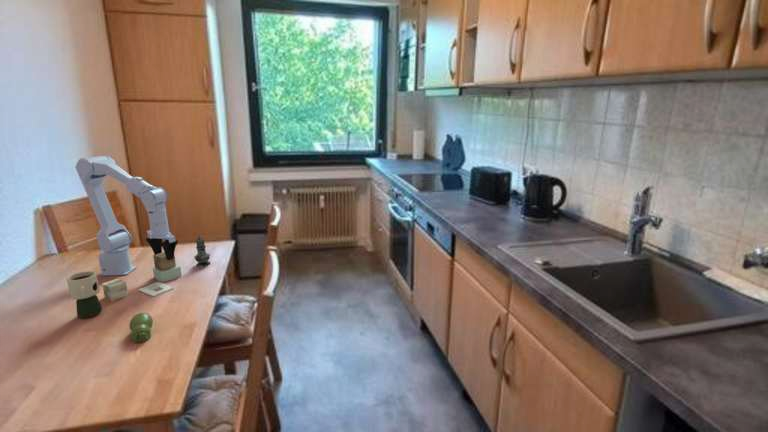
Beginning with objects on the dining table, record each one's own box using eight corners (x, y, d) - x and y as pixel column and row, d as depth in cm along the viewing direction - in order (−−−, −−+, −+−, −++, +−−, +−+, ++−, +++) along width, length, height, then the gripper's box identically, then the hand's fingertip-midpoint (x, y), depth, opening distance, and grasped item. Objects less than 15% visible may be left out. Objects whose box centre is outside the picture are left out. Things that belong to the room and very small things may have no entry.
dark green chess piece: (205, 267, 156) (201, 238, 153) (192, 266, 157) (187, 237, 154) (214, 262, 162) (210, 234, 158) (201, 260, 163) (197, 233, 160)
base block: (154, 277, 148) (152, 267, 147) (173, 271, 153) (172, 262, 152) (162, 282, 144) (160, 272, 143) (181, 276, 149) (180, 266, 148)
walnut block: (155, 267, 147) (153, 255, 145) (168, 263, 151) (166, 251, 149) (162, 270, 144) (160, 257, 143) (175, 266, 148) (174, 253, 147)
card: (138, 290, 137) (138, 289, 137) (158, 282, 143) (158, 281, 143) (153, 296, 133) (153, 295, 133) (173, 288, 139) (173, 287, 138)
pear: (151, 307, 115) (150, 329, 107) (154, 321, 117) (153, 344, 109) (129, 311, 112) (126, 334, 104) (132, 326, 115) (130, 349, 107)
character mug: (104, 318, 119) (95, 279, 116) (74, 325, 116) (64, 285, 112) (104, 304, 128) (96, 266, 125) (77, 310, 124) (67, 272, 121)
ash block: (104, 297, 133) (101, 283, 131) (120, 291, 137) (118, 278, 135) (112, 301, 130) (109, 287, 129) (128, 295, 134) (125, 281, 133)
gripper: (136, 221, 143) (142, 256, 147) (159, 228, 136) (165, 264, 139) (155, 217, 149) (161, 250, 153) (178, 222, 141) (183, 258, 145)
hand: (164, 257), depth 146 cm, fingers open, 7 cm apart
